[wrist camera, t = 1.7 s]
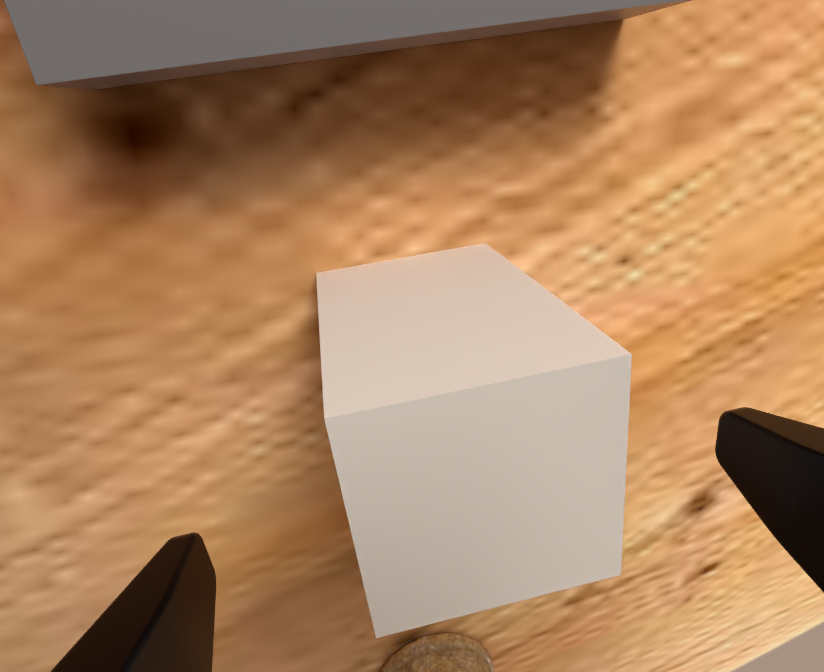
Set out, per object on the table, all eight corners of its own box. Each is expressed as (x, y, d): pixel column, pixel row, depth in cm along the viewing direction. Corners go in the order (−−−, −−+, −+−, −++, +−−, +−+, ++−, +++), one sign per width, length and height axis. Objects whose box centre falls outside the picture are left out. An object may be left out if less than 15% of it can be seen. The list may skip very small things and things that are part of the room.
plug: (495, 388, 16) (621, 575, 10) (347, 419, 15) (376, 638, 9) (485, 242, 14) (631, 354, 8) (316, 272, 13) (324, 418, 7)
